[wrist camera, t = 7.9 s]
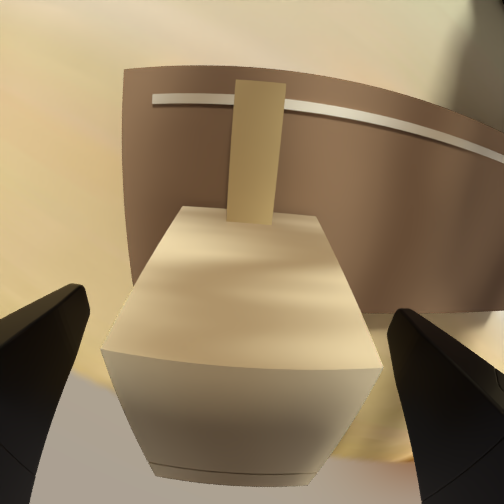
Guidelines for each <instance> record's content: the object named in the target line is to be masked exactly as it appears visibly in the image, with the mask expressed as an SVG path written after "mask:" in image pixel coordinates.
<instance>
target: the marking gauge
mask: <svg viewBox="0 0 504 504" xmlns="http://www.w3.org/2000/svg"><path fill="white" fill-rule="evenodd" d="M285 93H286V84H284V83H275V82H264V81H252V80H236V84H235V96H234V109H233V122H232V136H231V150H230V166H229V182H228V199H227V209H222V208H207V207H191V206H182V208H181V209H180V211H179V212H178V214H177V216H176V217H175V219H174V220H173V222H172V223H171V225H170V227H169V228H168V230H167V231H166V233H165V235H164V236H163V238H162V239H161V241H160V243H159V244H158V246H157V248H156V249H155V251H154V253H153V254H152V256H151V258H150V259H149V261H148V263H147V264H146V266H145V268H144V269H143V271H142V273H141V275H140V276H139V278H138V280H137V281H136V283H135V285H134V287H133V288H132V290H131V292H130V294H129V296H128V297H127V299H126V301H125V303H124V305H123V306H122V308H121V310H120V312H119V314H118V316H117V318H116V319H115V321H114V323H113V325H112V327H111V329H110V331H109V333H108V335H107V337H106V339H105V340H104V342H103V344H102V346H101V348H100V350H101V353H102V356H103V358H104V361H105V364H106V367H107V370H108V373H109V375H110V378H111V381H112V383H113V386H114V389H115V391H116V394H117V396H118V398H119V401H120V403H121V406H122V408H123V410H124V413H125V415H126V417H127V420H128V422H129V424H130V426H131V429H132V431H133V433H134V435H135V437H136V439H137V441H138V443H139V445H140V447H141V449H142V451H143V453H144V455H145V457H146V459H147V461H148V462H149V465H150V467H151V469H152V470H153V472H154V474H155V476H158V477H163V478H169V479H176V480H182V481H189V482H197V483H206V484H216V485H217V484H218V485H230V486H252V487H287V486H307V485H308V484H309V483H310V482H311V480H312V479H313V478H314V477H315V475H316V474H317V472H318V471H319V470H320V469H321V467H322V466H323V465H324V463H325V462H326V460H327V459H328V458H329V456H330V455H331V453H332V452H333V451H334V449H335V448H336V446H337V445H338V443H339V442H340V440H341V439H342V437H343V436H344V434H345V433H346V431H347V430H348V428H349V427H350V425H351V423H352V422H353V420H354V419H355V417H356V415H357V414H358V412H359V410H360V409H361V407H362V405H363V404H364V402H365V400H366V399H367V397H368V395H369V393H370V392H371V390H372V388H373V386H374V385H375V383H376V381H377V379H378V377H379V375H380V373H381V372H382V370H383V368H384V367H383V365H382V362H381V360H380V357H379V355H378V352H377V350H376V347H375V345H374V342H373V340H372V337H371V335H370V332H369V330H368V328H367V325H366V323H365V321H364V318H363V316H362V314H361V311H360V309H359V307H358V304H357V302H356V300H355V297H354V295H353V293H352V291H351V289H350V286H349V284H348V282H347V280H346V278H345V275H344V273H343V271H342V269H341V267H340V265H339V262H338V260H337V258H336V256H335V254H334V252H333V250H332V248H331V246H330V244H329V241H328V239H327V237H326V235H325V233H324V231H323V229H322V227H321V225H320V223H319V221H318V219H317V217H316V216H307V215H297V214H286V213H274V212H273V208H274V199H275V190H276V181H277V171H278V162H279V152H280V143H281V133H282V123H283V113H284V103H285Z"/></svg>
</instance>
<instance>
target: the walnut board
mask: <svg viewBox="0 0 504 504" xmlns="http://www.w3.org/2000/svg"><path fill="white" fill-rule="evenodd" d="M236 80H252V81H264V82H275V83H284V84H286V93H285V103H284V113H283V123H282V133H281V143H280V152H279V162H278V171H277V181H276V190H275V199H274V208H273V212H274V213H286V214H297V215H307V216H316V217H317V219H318V221H319V223H320V225H321V227H322V229H323V231H324V233H325V235H326V237H327V239H328V241H329V244H330V246H331V248H332V250H333V252H334V254H335V256H336V258H337V260H338V262H339V265H340V267H341V269H342V271H343V273H344V275H345V278H346V280H347V282H348V284H349V286H350V289H351V291H352V293H353V295H354V297H355V300H356V302H357V304H358V307H359V309H360V311H361V313H395V312H396V310H397V309H399V308H410V309H412V310H413V311H415V312H416V313H457V312H483V311H502V310H504V133H503V132H501V131H499V130H496V129H494V128H492V127H490V126H488V125H486V124H483V123H481V122H479V121H476V120H474V119H472V118H469V117H467V116H464V115H462V114H459V113H457V112H454V111H451V110H449V109H446V108H443V107H441V106H438V105H435V104H432V103H429V102H426V101H423V100H420V99H417V98H414V97H410V96H407V95H404V94H400V93H397V92H393V91H389V90H386V89H382V88H378V87H374V86H370V85H365V84H361V83H357V82H352V81H347V80H342V79H337V78H332V77H326V76H320V75H314V74H307V73H300V72H293V71H285V70H276V69H266V68H253V67H237V66H161V67H146V68H134V69H124V81H123V103H122V167H123V190H124V206H125V219H126V230H127V240H128V250H129V258H130V266H131V274H132V281H133V287H134V285H135V283H136V281H137V280H138V278H139V276H140V275H141V273H142V271H143V269H144V268H145V266H146V264H147V263H148V261H149V259H150V258H151V256H152V254H153V253H154V251H155V249H156V248H157V246H158V244H159V243H160V241H161V239H162V238H163V236H164V235H165V233H166V231H167V230H168V228H169V227H170V225H171V223H172V222H173V220H174V219H175V217H176V216H177V214H178V212H179V211H180V209H181V208H182V206H191V207H207V208H222V209H227V199H228V182H229V166H230V150H231V136H232V122H233V109H234V96H235V84H236Z"/></svg>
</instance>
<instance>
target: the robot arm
mask: <svg viewBox="0 0 504 504" xmlns="http://www.w3.org/2000/svg"><path fill="white" fill-rule="evenodd" d="M502 1H503V4H504V0H502ZM89 315H90V307H89V303H88V299H87V295H86V291H85V288H84V286H83V285H80V284H73V283H72V284H68V285H66V286H64V287H62V288H60V289H58V290H56V291H54V292H52V293H50V294H48V295H46V296H44V297H42V298H40V299H38V300H36V301H35V302H33V303H31V304H29V305H27V306H25V307H23V308H21V309H19V310H17V311H15V312H13V313H11V314H10V315H8V316H6V317H4V318H2V319H0V504H29V502H30V497H31V493H32V489H33V485H34V481H35V475H36V472H37V468H38V465H39V461H40V457H41V454H42V450H43V447H44V444H45V441H46V438H47V434H48V431H49V428H50V425H51V422H52V419H53V416H54V414H55V411H56V408H57V405H58V402H59V399H60V397H61V394H62V392H63V389H64V386H65V384H66V381H67V379H68V376H69V374H70V371H71V369H72V366H73V364H74V361H75V359H76V356H77V353H78V350H79V346H80V343H81V340H82V337H83V334H84V331H85V328H86V325H87V322H88V319H89ZM387 339H388V344H389V349H390V355H391V360H392V366H393V372H394V377H395V382H396V386H397V389H398V393H399V397H400V401H401V405H402V409H403V413H404V417H405V421H406V425H407V429H408V434H409V438H410V442H411V447H412V452H413V457H414V462H415V466H416V472H417V477H418V483H419V489H420V496H421V501H422V504H504V374H503V373H502V372H500V371H499V370H497V369H495V368H494V367H493V366H492V365H491V364H489V363H488V362H486V361H485V360H484V359H482V358H481V357H480V356H478V355H477V354H475V353H474V352H473V351H471V350H470V349H468V348H467V347H466V346H464V345H463V344H461V343H460V342H458V341H457V340H456V339H454V338H453V337H451V336H450V335H448V334H447V333H446V332H444V331H443V330H441V329H440V328H438V327H437V326H435V325H434V324H433V323H431V322H430V321H428V320H427V319H425V318H424V317H422V316H421V315H419V314H418V313H416V312H415V311H413V310H412V309H410V308H399V309H397V310H396V312H395V314H394V316H393V319H392V321H391V324H390V326H389V328H388V332H387Z"/></svg>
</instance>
